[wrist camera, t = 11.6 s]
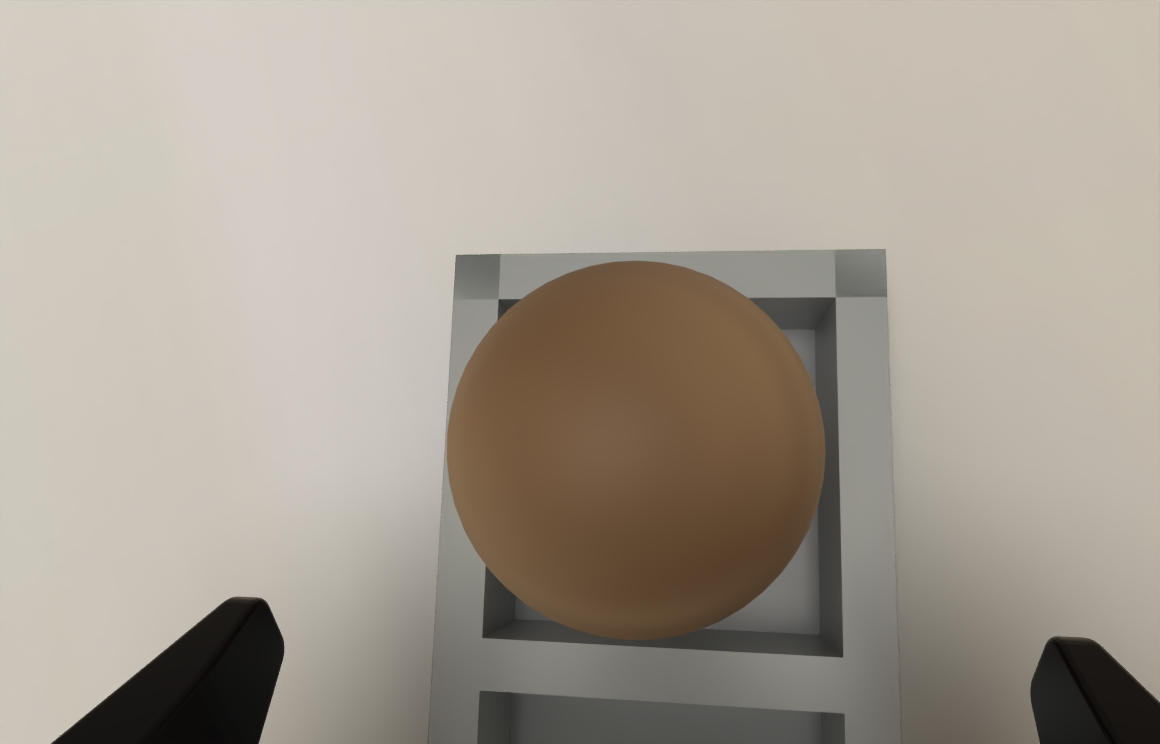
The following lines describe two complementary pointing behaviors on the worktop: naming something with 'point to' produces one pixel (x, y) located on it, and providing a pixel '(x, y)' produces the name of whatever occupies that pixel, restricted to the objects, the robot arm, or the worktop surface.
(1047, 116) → the worktop surface
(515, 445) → the dome-topped wooden peg
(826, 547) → the grey divided tray
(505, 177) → the worktop surface
